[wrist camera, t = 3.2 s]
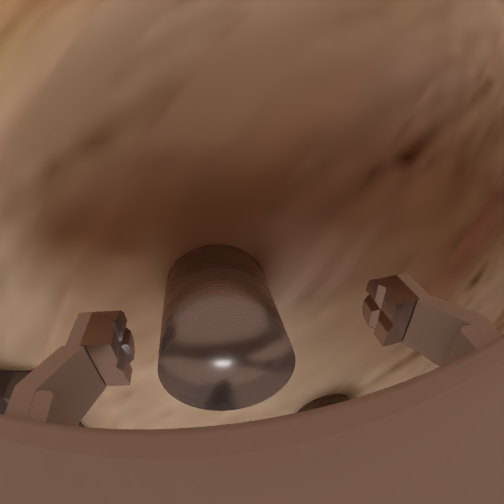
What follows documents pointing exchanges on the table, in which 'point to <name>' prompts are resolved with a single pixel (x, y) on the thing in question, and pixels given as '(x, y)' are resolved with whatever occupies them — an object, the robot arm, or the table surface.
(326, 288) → the table surface
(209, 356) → the cylinder
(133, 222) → the table surface
